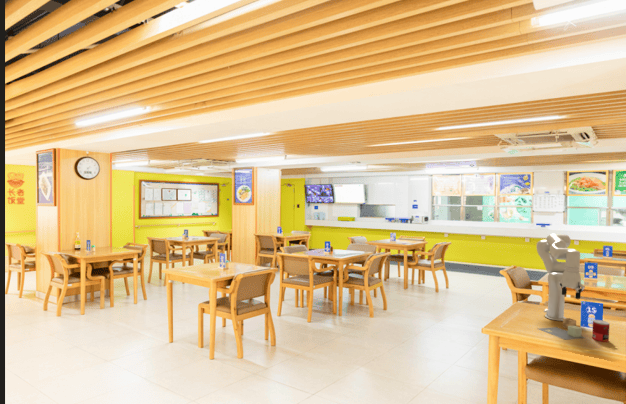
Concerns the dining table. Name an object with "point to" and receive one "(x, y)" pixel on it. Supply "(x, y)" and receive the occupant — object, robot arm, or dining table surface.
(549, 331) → the mat
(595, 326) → the canned food
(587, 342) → the dining table surface
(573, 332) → the sage block
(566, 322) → the oak block
